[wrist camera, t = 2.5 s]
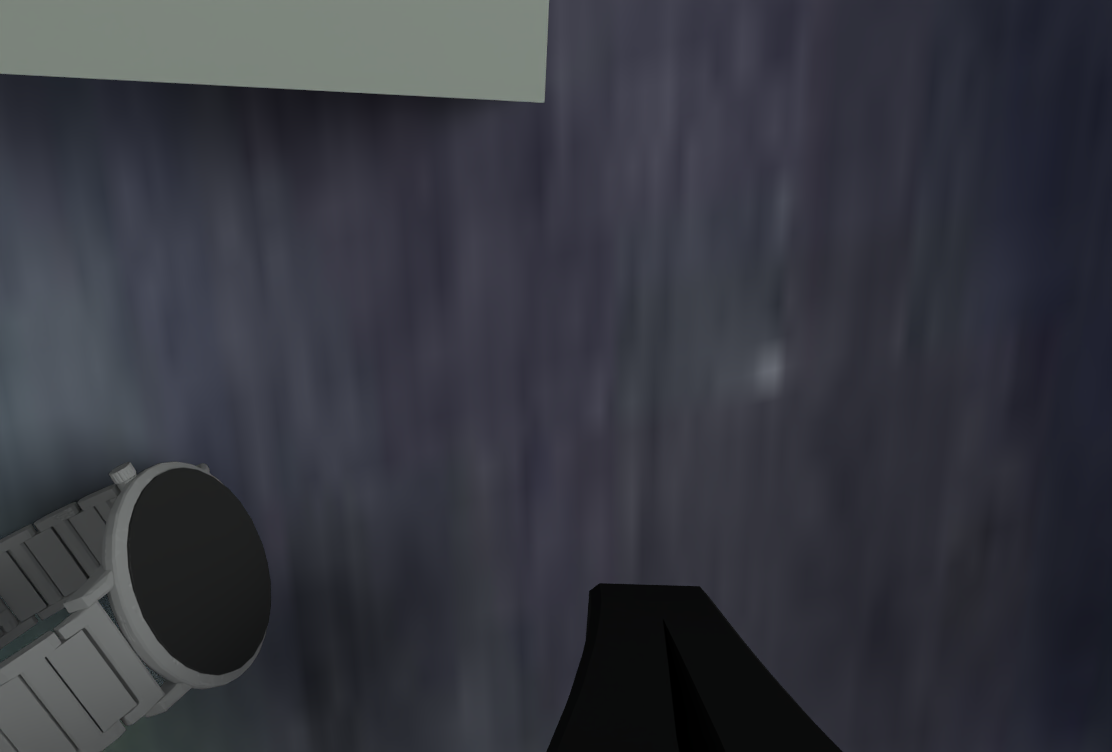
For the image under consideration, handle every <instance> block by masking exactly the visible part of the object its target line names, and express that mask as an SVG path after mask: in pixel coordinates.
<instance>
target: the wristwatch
mask: <svg viewBox="0 0 1112 752" xmlns="http://www.w3.org/2000/svg"><path fill="white" fill-rule="evenodd" d="M209 472H210V469H209V468H208V466H207V465H206V464H204V463H203V464H199V465H197V466H194V465H192V464H187V463H181V462H167V463H159V464H157V465H154V466H152V467H150V468H148V469H145V470H144V471H142V472H140V473H139V474H137V475H136V470H135V469H134V467H133V466H132V464H131V463H130V462H127V463H124V464H122V465H120V466H118V467H116V468H115V469H113V470H112V471H111V472H110V473H109V476H110V477H111V479H112V480H113V482H114V483H115V484H113V485H110V486H108V487H105V488H103V489H101V490H98V491H96V492H94V493H91V494H89V495H87V496H85V497H83V498H82V499H80V500H79V501H78V502H77V503H78V504H79V506H80V507H81V508H80V507H79V506H78V504H77V503H76V502H73V503H70V504H68V505H66V506H64V507H62V508H60V509H58V510H56V511H54V512H52V513H50V514H48V515H46V516H44V517H43V518H41V519H39V520H37V521H36V522H35V523H34V525H35V526H36V528H37V529H38V532H37V531H36V530H35V529H34V527H33V526H32V525H31V524H30V525H28V526H25V527H23V528H22V529H20V530H18V531H16V532H14V533H12V534H10V535H8V536H6V537H5V538H3V539H1V540H0V596H1V597H2V598H3V600H4V601H5V602H6V603H7V605H8V606H9V607H10V609H11V610H12V611H13V613H14V614H15V615H16V617H17V618H18V619H19V620H17V618H16V617H15V616H14V615H13V613H12V612H11V611H10V609H9V608H8V607H7V605H6V604H5V603H4V602H3V600H2V599H1V598H0V628H1V629H2V630H1V629H0V649H1V648H3V647H4V646H6V645H7V644H8V643H10V642H11V641H13V640H14V639H16V638H17V637H19V636H20V635H21V634H23V633H24V632H26V631H27V630H29V629H30V628H32V627H33V626H35V625H36V624H37V623H38V620H37V618H36V617H35V615H34V614H36V613H37V614H38V616H39V617H40V618H41V619H42V620H44V619H46V618H48V617H49V616H51V615H53V614H55V613H56V612H58V611H60V610H62V609H63V608H66V609H67V611H68V612H69V613H72V614H71V615H70V616H68V617H67V618H66V619H65V620H64V621H62V622H61V623H60V624H59V625H58V626H56V627H55V628H54V629H53V630H54V631H55V633H56V634H57V635H58V637H59V638H60V640H59V639H58V637H57V636H56V635H55V633H54V632H52V631H48V632H46V633H45V634H43V635H42V636H40V637H39V638H37V639H36V640H34V641H33V642H31V643H30V644H28V645H27V646H25V647H24V648H22V649H21V650H19V651H18V652H16V653H15V654H13V655H12V656H10V657H9V658H7V659H6V660H4V661H3V662H1V663H0V752H101V751H102V750H104V749H105V748H106V747H107V746H109V745H110V744H111V743H113V742H114V741H115V740H117V739H118V738H119V737H120V736H121V735H122V734H123V733H124V732H125V731H126V729H125V727H124V726H123V725H122V723H121V722H120V721H119V719H121V720H122V722H123V723H124V724H125V725H127V726H129V725H133V724H134V723H135V722H137V721H138V720H139V719H140V718H141V717H143V716H144V715H145V716H146V717H147V718H148V717H151V716H154V715H157V714H160V713H163V712H166V711H167V710H168V709H169V708H170V707H171V706H172V705H173V704H175V703H176V702H177V701H178V700H179V699H180V698H181V697H182V696H183V695H184V694H185V693H187V692H188V691H189V690H190V689H191V688H195V689H207V688H213V687H217V686H222V685H226V684H228V683H229V682H231V681H233V680H235V679H237V678H238V677H240V676H241V675H242V674H243V673H244V672H245V671H246V670H247V669H248V668H249V667H250V666H251V664H252V663H253V661H254V660H255V658H256V656H257V655H258V653H259V651H260V649H261V646H262V643H263V641H264V638H265V635H266V630H267V625H268V622H269V615H270V607H271V581H270V575H269V569H268V563H267V559H266V555H265V552H264V548H263V544H262V542H261V540H260V537H259V535H258V533H257V531H256V528H255V526H254V524H253V521H252V519H251V518H250V516H249V515H248V513H247V512H246V510H245V508H244V507H243V505H242V504H241V502H240V501H239V500H238V499H237V498H236V497H235V495H234V494H233V493H232V492H231V491H230V490H229V489H228V488H227V487H226V486H224V485H223V484H222V483H221V482H220V481H219V480H218V479H217V478H215V477H214V476H213V475H211V474H210V473H209ZM17 563H18V564H17ZM19 566H20V567H21V568H20V567H19ZM22 570H23V571H24V572H23V571H22ZM25 574H26V575H27V576H26V575H25ZM28 578H29V579H30V580H29V579H28ZM31 582H32V583H33V584H32V583H31ZM34 586H35V587H36V588H35V587H34ZM37 590H38V591H39V592H38V591H37ZM40 594H41V595H42V596H41V595H40ZM106 594H107V595H108V599H109V603H110V606H111V610H112V612H113V614H114V617H115V619H116V621H117V623H118V626H119V628H120V630H121V632H122V634H123V635H124V637H125V638H126V639H125V638H124V637H123V635H122V634H121V632H120V631H119V630H118V628H117V627H116V626H115V624H114V623H113V621H112V620H111V619H110V617H109V616H108V614H107V613H106V612H105V610H104V609H103V608H102V606H101V605H100V603H99V602H98V600H99V599H100V598H102V597H103V596H104V595H106ZM43 598H44V599H45V600H44V599H43ZM46 602H47V603H46ZM76 611H77V612H76ZM73 612H74V613H73ZM126 640H127V641H128V642H127V641H126ZM128 643H129V644H130V645H129V644H128ZM131 647H132V648H131ZM134 651H135V652H136V653H135V652H134ZM136 654H137V655H138V656H139V657H140V658H141V659H142V660H143V662H144V663H145V664H146V665H147V666H148V667H149V668H150V669H151V670H153V671H154V672H156V673H157V674H158V675H160V676H161V677H162V678H164V679H166V681H165V682H164V683H163V684H162V686H161V687H160V686H159V685H158V684H157V682H156V681H155V679H154V678H153V677H152V675H151V674H150V673H149V671H148V670H147V668H146V667H145V666H144V664H143V663H142V661H141V660H140V659H139V657H138V656H137V655H136ZM51 666H52V667H51Z"/></svg>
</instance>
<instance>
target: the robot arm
mask: <svg viewBox="0 0 1112 752" xmlns="http://www.w3.org/2000/svg"><path fill="white" fill-rule="evenodd" d="M547 752H842V751H841V750H840V749H839V748H838V747H837V746H836V745H835V744H834V743H833V742H832V741H831V740H830V739H829V738H828V737H827V736H826V735H825V733H824V732H823V731H822V730H821V729H820V728H819V727H818V726H817V725H816V724H815V723H814V722H813V721H812V720H811V718H810V717H809V716H808V715H807V714H806V713H805V712H804V711H803V710H802V709H801V708H800V706H799V705H798V704H797V703H796V702H795V701H794V700H793V698H792V697H791V696H790V695H789V694H788V693H787V692H786V691H785V689H784V688H783V687H782V686H781V685H780V684H779V683H778V681H777V680H776V679H775V678H774V677H773V676H772V675H771V673H770V672H769V671H768V670H767V669H766V668H765V666H764V665H763V664H762V663H761V662H760V660H759V659H758V658H757V657H756V656H755V654H754V653H753V652H752V651H751V649H750V648H749V647H748V646H747V645H746V643H745V642H744V641H743V640H742V638H741V637H740V636H739V635H738V633H737V632H736V631H735V630H734V628H733V627H732V626H731V625H730V623H729V622H728V621H727V619H726V618H725V617H724V616H723V614H722V613H721V612H720V611H719V609H718V608H717V607H716V605H715V604H714V603H713V602H712V600H711V599H710V598H709V597H708V595H707V594H706V593H705V592H704V591H703V590H702V589H701V587H700V586H668V585H635V584H602V583H599V584H598V585H597V586H595V587H594V588H593V589H592V590H590V591H589V604H588V617H587V631H586V642H585V646H584V650H583V654H582V658H581V661H580V664H579V667H578V670H577V673H576V677H575V680H574V683H573V686H572V689H571V692H570V695H569V698H568V701H567V703H566V706H565V709H564V711H563V713H562V716H561V718H560V721H559V723H558V725H557V728H556V730H555V733H554V735H553V737H552V740H551V742H550V745H549V747H548V749H547Z"/></svg>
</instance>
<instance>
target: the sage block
mask: <svg viewBox="0 0 1112 752" xmlns="http://www.w3.org/2000/svg"><path fill="white" fill-rule="evenodd" d="M548 10H549V0H0V74H16V75H35V76H54V77H72V78H91V79H110V80H129V81H147V82H166V83H185V84H204V85H222V86H241V87H260V88H279V89H298V90H316V91H335V92H354V93H373V94H391V95H410V96H429V97H448V98H466V99H485V100H504V101H523V102H541V103H544V99H545V77H546V55H547V32H548Z"/></svg>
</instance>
